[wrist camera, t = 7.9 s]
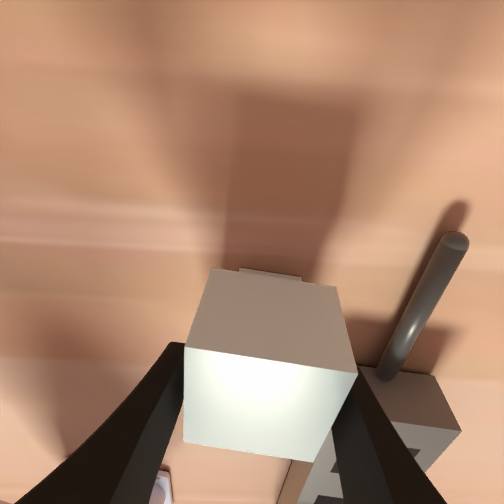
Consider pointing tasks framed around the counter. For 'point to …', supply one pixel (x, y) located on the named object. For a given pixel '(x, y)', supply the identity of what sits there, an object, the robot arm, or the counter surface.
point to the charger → (266, 364)
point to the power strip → (395, 390)
